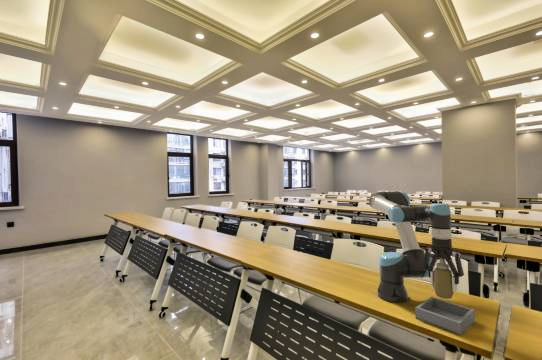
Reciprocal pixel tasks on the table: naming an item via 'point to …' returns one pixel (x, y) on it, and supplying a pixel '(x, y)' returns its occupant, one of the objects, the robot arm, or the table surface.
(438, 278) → the squeeze bottle
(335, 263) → the table surface
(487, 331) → the table surface
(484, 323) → the table surface
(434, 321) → the bin
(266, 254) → the table surface
